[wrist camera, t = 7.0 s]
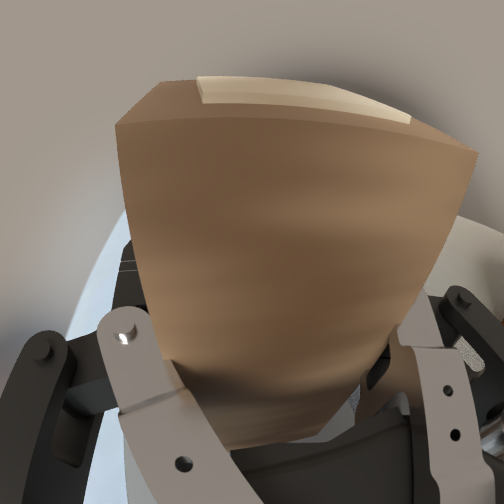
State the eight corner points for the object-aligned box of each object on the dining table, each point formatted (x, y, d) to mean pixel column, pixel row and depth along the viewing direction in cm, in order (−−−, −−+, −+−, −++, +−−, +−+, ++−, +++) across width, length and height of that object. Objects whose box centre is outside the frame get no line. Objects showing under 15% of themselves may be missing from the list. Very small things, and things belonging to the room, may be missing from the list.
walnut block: (287, 347, 15) (343, 85, 7) (316, 435, 11) (481, 145, 3) (188, 358, 14) (160, 76, 6) (200, 455, 10) (113, 110, 2)
